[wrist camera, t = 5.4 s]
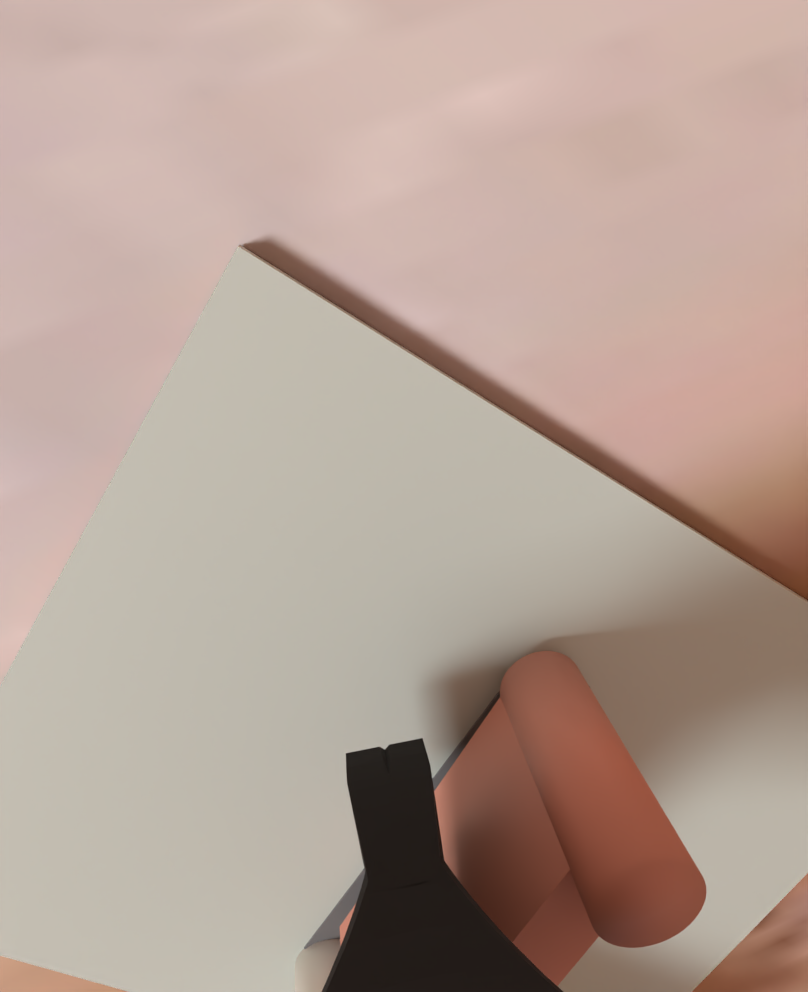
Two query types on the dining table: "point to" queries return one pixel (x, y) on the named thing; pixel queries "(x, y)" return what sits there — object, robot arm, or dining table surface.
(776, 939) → the dining table surface
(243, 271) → the card
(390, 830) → the robot arm
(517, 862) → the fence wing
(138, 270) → the dining table surface
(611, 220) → the dining table surface
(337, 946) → the fence base
